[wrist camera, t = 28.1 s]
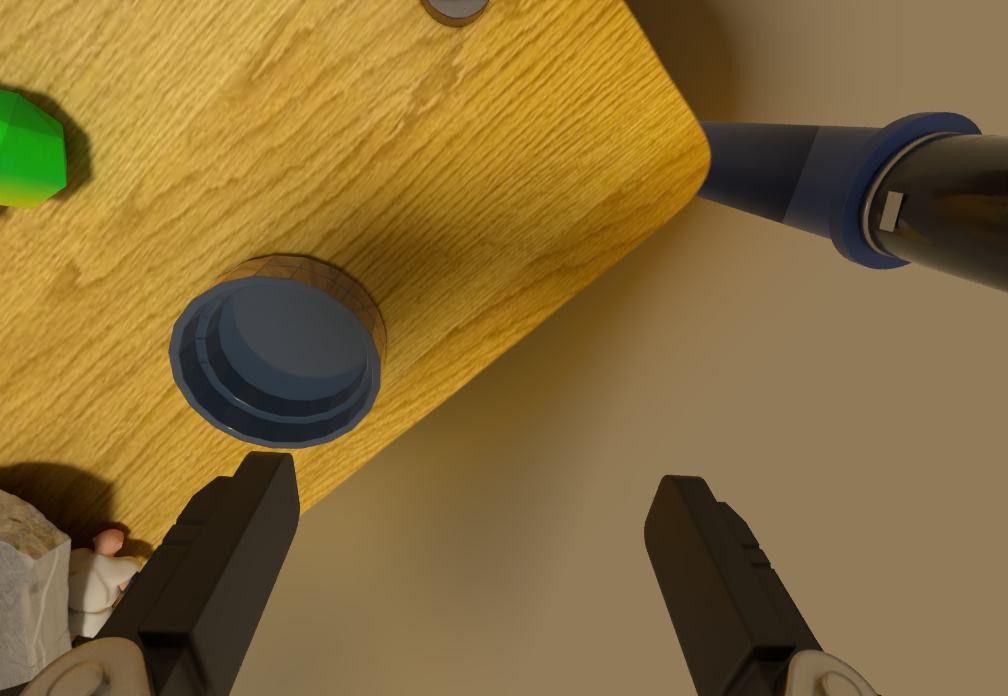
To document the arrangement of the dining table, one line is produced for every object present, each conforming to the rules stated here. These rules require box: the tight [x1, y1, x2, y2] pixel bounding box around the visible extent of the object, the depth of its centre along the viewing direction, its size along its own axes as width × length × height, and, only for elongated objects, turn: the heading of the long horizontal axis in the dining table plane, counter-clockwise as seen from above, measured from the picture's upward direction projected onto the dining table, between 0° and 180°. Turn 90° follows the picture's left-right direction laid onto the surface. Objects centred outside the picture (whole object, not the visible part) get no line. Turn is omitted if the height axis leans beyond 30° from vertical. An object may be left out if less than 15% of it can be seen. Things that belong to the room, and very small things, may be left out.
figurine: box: [68, 529, 142, 649], centre depth 42 cm, size 15×9×18 cm
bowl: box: [168, 255, 386, 449], centre depth 34 cm, size 13×13×6 cm
